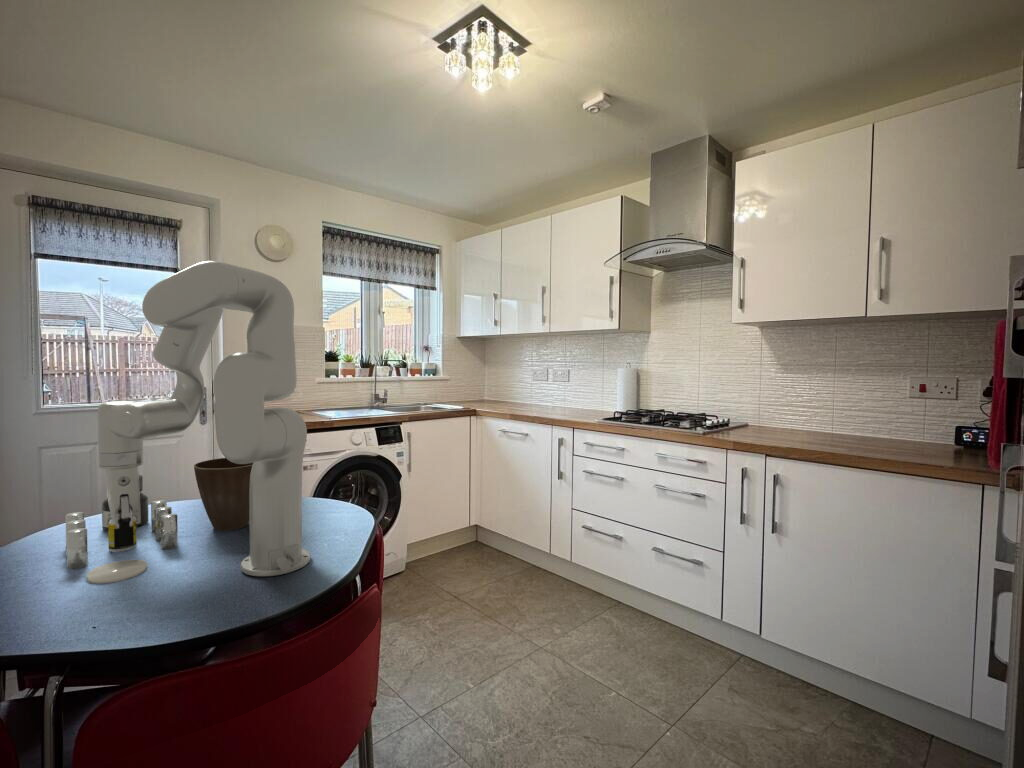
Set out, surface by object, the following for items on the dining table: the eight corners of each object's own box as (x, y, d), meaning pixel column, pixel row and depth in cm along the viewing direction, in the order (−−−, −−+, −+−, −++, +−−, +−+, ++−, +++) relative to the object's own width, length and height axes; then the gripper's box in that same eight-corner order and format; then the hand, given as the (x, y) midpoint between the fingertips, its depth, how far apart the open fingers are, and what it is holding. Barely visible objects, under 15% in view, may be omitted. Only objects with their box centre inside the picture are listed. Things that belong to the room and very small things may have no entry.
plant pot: (188, 540, 112) (188, 470, 112) (200, 520, 126) (199, 458, 125) (262, 532, 118) (262, 466, 118) (265, 514, 132) (265, 454, 131)
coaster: (150, 574, 94) (150, 570, 94) (88, 588, 88) (88, 583, 88) (143, 559, 101) (143, 556, 101) (85, 572, 95) (85, 567, 95)
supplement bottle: (121, 553, 104) (120, 513, 104) (102, 551, 105) (102, 512, 105) (142, 545, 109) (141, 507, 109) (124, 543, 110) (124, 505, 109)
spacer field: (178, 548, 108) (178, 516, 107) (67, 570, 95) (66, 534, 95) (165, 528, 120) (165, 499, 120) (65, 545, 108) (65, 513, 108)
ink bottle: (91, 533, 116) (90, 482, 115) (116, 521, 125) (115, 473, 124) (136, 532, 117) (135, 481, 117) (158, 520, 126) (157, 473, 125)
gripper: (148, 463, 103) (149, 549, 103) (138, 451, 115) (139, 528, 116) (101, 467, 97) (103, 558, 98) (96, 455, 110) (97, 536, 111)
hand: (122, 541), depth 107 cm, fingers closed on supplement bottle, 4 cm apart
